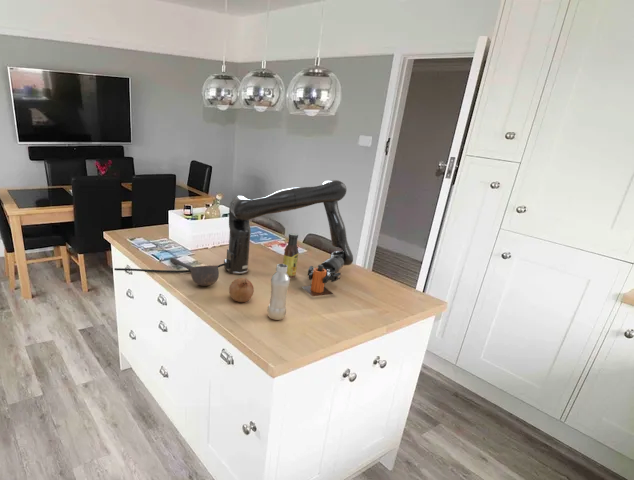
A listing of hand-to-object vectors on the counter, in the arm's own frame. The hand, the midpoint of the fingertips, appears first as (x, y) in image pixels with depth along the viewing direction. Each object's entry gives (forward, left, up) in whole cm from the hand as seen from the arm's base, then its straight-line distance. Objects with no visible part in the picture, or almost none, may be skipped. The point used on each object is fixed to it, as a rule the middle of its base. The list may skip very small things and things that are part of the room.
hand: (316, 279), depth 169 cm
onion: (-32, +2, -7) cm, 33 cm away
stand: (+2, +2, -7) cm, 7 cm away
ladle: (-44, +32, -7) cm, 55 cm away
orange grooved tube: (+2, +2, -6) cm, 6 cm away
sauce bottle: (-2, +20, -7) cm, 21 cm away
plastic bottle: (-25, -15, -7) cm, 30 cm away
